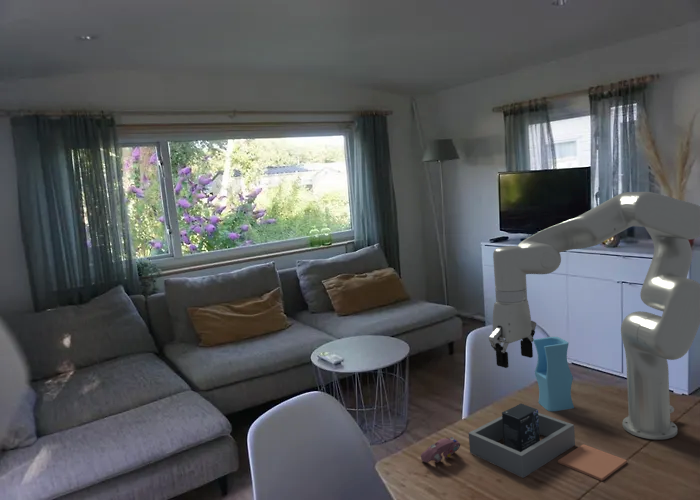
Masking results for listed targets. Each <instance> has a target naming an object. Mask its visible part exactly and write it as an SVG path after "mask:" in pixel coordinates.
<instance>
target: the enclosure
mask: <svg viewBox="0 0 700 500" xmlns="http://www.w3.org/2000/svg"><path fill="white" fill-rule="evenodd" d="M538 417H539V435H541V436H543V437H544V438H542V439H540V441H539V442H537V443H535V444H534V445H532V446H530V447H529V448H527V449H525V450H523V451H522V452H519V451H517V450H514V449H512V448H510V447H507V446H505V445H504V443H503V444H502V443H500V441H501V440H504V439H503V422H502V415H501V416H499V417H496V418H495V419H493V420H491V421H489V422H487V423H484V424H483V425H481V426H479V427H477V428H476V429H473V430H471V431H469V432H468V441H469V442H468V445H469V453H470V454H472V455H474V456H476V457H478V458H480V459H483V460H484V461H487V462H489V463H491V464H493V465H495V466H497V467H499V468H500V469H504V471H505V470H506V471H508V472H510V473H511V474H513V475H516V476H518V477H520V478H522V479H524V478H525V477H527V476H529V475H530V474H531V473H533V472H535V471H537V470H539V469H540V468H541V467H543V466H545V465H546V464H548V463H549V462H552V461H553V460H554V459H556V458H557V457H558V456H560V455H561V454H563V453H565V452H567V451H568V450H570V449H572V448H573V447H575V446H576V436H575V435H576V434H575V424H572V423H569V422H566V421H564V420H562V419H558V418H555V417H552V416H550V415H546V414H543V413H540V412H538Z"/></svg>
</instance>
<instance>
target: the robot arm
mask: <svg viewBox="0 0 700 500" xmlns="http://www.w3.org/2000/svg"><path fill="white" fill-rule="evenodd" d="M631 227H638V228H639V227H642V228H645V230H646V232H647V233H648V234H649V236H650V238H651V240H652V243H653V255H652V258H651V262H650V264H649V268H648V270H647V272H646V275H645V278H644V282H643V283H642V286H641V289H640V295H639V296H640V299H641V301H642V303H643V304H644V305H646V306H648V307H649V308H652V309H653V310H656V311H660V312H662V315H658V314H655V313H651V312H647V311H634V312H631V313H628V314H627V315H626V316H625V317H624V319H623V320H622V323H621V326H620V332H621V333H620V334H621V340H622V343H623V348H624V353H625V360H626V363H625V365H626V384H627V385H626V386H627V404H628V405H627V406H628V407H627V408H628V409H627V410H628V415H627V416H626V417H625V418H623V420H622V427H623V429H624V430H625V431H626V432H628V433H629V434H631V435H633V436H636V437H639V438H642V439H647V440H657V441H658V440H660V441H662V440H668V439H669V440H670V439H671V438H674V437H676V436H677V434H678V426H677V425H676V424H675V423H674V422H673V421H671V414H672V413H674V411H675V407H674V406H673V405H671V404H670V402H671V401H670V382H669V381H670V380H669V379H670V376H669V375H670V373H669V363H668V361H669V360H670V361H675V360H676V361H677V360H679V359H681V358H683V357H684V356H685V355H686V354H687V353H688V352H689V351H690V349H691V347H692V345H693V342H694V340H695V338H696V336H697V332H698V330H699V328H700V283H699V282H698V281H696V280H694V279H691V278H688V275H689V272H690V268H691V265H692V261H693V251H692V247H691V243H690V240H695V239H699V238H700V205H699V204H696V203H692V202H689V201H686V200H682V199H678V198H674V197H670V196H669V195H664V194H661V193H656V192H652V191H628V192H627V191H626V192H621V193H619V194H617V195H615V196H613V197H611V198H610V199H608V200H606V201H604V202H602V203H600V204H598V205H597V206H595V207H593V208H591V209H590V210H588V211H585V212H584V213H582V214H579V215H578V216H576V217H574V218H570V219H567V220H565V221H562V222H560V223H557V224H555V225H552V226H549V227H547V228H544V229H542V230H540V231H538V232H536V233H534V234H533V235H531V236H529V237H526V238H524V240H522V241H520V242H519V244H517V245H507V246H506V245H505V246H499V247H497V248H495V249H494V250H493V253H492V258H493V259H492V260H493V274H494V275H493V276H494V290H495V302H494V304H493V311H492V332H491V334H490V335H489V337H488V340H489V342H490V344H491V345H490V346H491V347H492V348H493V351H495V359H496V366H498V367H501V368H505V369H507V368H509V353H508V351H507V349H508V347H509V344H512V343H515V342H517V341H520V354H521V357H522V356H523V357H526V358H533V357H534V351H533V350H534V348H533V343H534V341H533V340H534V339H535V338H534V336H535V334H536V327H537V322H536V321H533V320H532V318H531V311H530V305H529V300H528V292H527V291H528V290H527V288H528V287H527V286H528V285H527V276H526V275H549V274H552V273H554V272H555V271H557V270H558V268H560V265H561V262H562V256H561V253H563V252H566V251H571V250H577V249H580V250H581V249H587V248H592V247H595V246H598V245H600V244H602V243H604V242H605V241H607V240H608V239H611V238H612V237H614V236H616V235H618V234H620V233H621V232H624V231H625V230H627V229H629V228H631ZM501 344H502V345H501Z"/></svg>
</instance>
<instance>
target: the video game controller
mask: <svg viewBox="0 0 700 500" xmlns="http://www.w3.org/2000/svg"><path fill="white" fill-rule="evenodd" d="M460 448H461V443H460V442H459V440H457V439H456V438H454V437H453V436H451V437H449V438H440V439H438V440H437V441H436V442H435V443H433V444H431V445H429V446H428V448H426V450H425V451H422V452H421V454H420V458H421V461H422V462H424V463H430V462H432V461H434V462H435V463H440V462H441V461H442V460H443V457H444V458H445V459H449V458H451V457H452V456H453V454H454V453H455V452H457V451H458V450H459V449H460Z"/></svg>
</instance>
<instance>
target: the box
mask: <svg viewBox="0 0 700 500" xmlns="http://www.w3.org/2000/svg"><path fill="white" fill-rule="evenodd" d="M538 413H539V409H537V408H536V407H532V406H529V405H526V404H524V403H519V404H517V405H515V406H513V407H511V408H509V409H507V410H504V411H502V412H501V416H502V422H503V439H502V440H503V445H505V446H507V447H510V448H512V449H514V450H517V451H519V452H522V451H523V450H525V449H527V448H529V447H530V446H532V445H534V444H535V443H537V442H539V441H540V440H541V437H540V434H539V417H538Z"/></svg>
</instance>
